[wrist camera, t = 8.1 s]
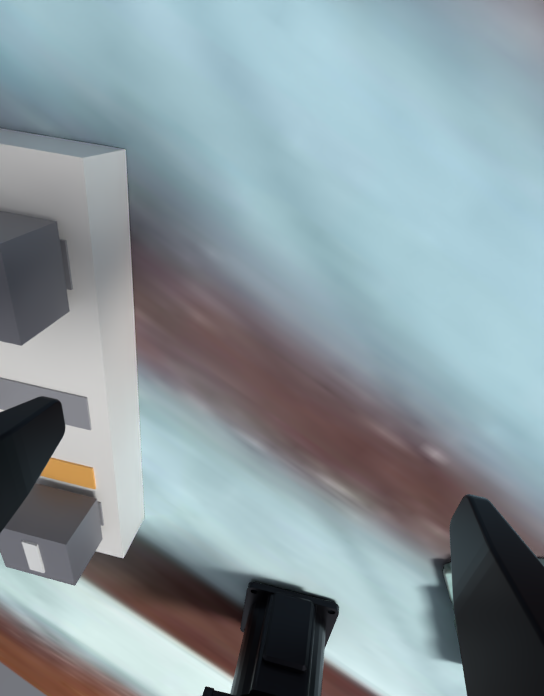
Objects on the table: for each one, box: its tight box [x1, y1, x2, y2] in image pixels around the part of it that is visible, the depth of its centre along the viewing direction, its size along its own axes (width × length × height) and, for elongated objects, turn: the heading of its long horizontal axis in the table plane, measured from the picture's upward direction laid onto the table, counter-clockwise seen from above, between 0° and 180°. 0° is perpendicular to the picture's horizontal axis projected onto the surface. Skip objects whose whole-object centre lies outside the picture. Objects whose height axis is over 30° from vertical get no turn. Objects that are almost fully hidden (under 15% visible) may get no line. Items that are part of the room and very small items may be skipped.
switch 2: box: [0, 483, 103, 585], centre depth 23 cm, size 4×4×3 cm
